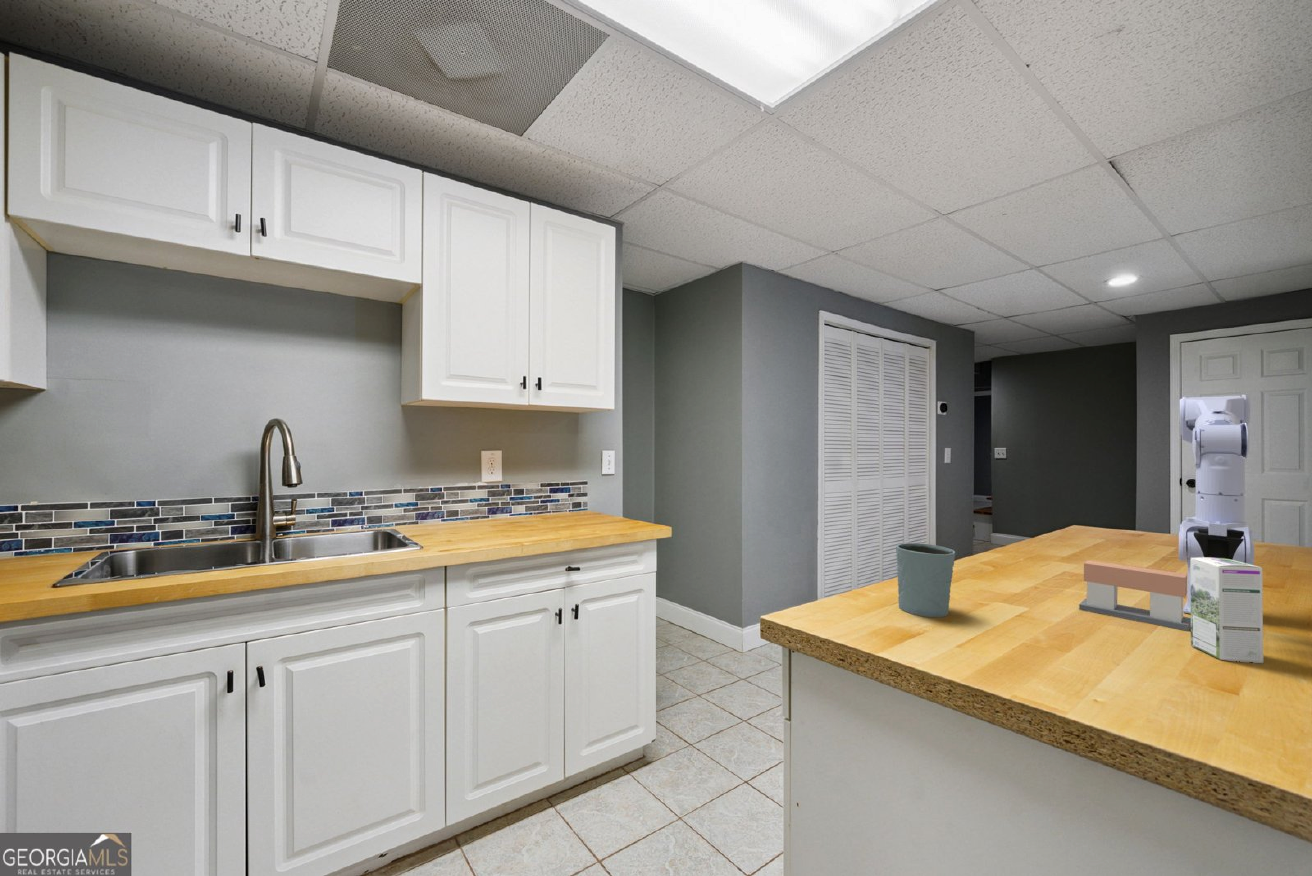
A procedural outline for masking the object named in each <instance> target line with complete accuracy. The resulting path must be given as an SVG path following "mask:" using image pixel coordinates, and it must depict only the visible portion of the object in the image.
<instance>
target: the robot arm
mask: <svg viewBox="0 0 1312 876" xmlns="http://www.w3.org/2000/svg"><path fill="white" fill-rule="evenodd" d="M1250 399H1251V398H1250V397H1249V396H1247V395H1246V394H1241V395H1224V396H1196V397H1195V396H1191V397H1187V396H1182V398H1180V399H1179V423H1178V424H1179V426H1180V428H1179V429H1180V431H1179V435H1181V440H1183V441H1186V442H1188V443H1190V444H1192V453H1193V458H1194V467H1195V468H1196V470H1195V508H1194V509H1195V513H1194V514H1195V515H1193V516H1186V517H1185V520H1183V521H1181V524H1179V532H1178V559H1179V560H1181V562H1183V563H1186V566H1187V595H1186V597H1187V598H1186V599H1187V600H1186V602H1185V604H1184V605H1183V613H1186V614H1191V587H1190V586H1191V579H1190V559H1191V558H1200V557H1213V558H1224V559H1231V560H1235V561H1239V562H1243V563H1247V564H1251V565H1255V543H1254V539H1253V534H1252V533H1253V532H1252V530H1251V529H1250V527H1249V526H1248V525H1247V522H1246V521H1245V502H1246V501H1245V493H1246V492H1245V491H1246V490H1245V488H1246V487H1245V486H1246V485H1245V484H1246V483H1245V477H1246V476H1245V473H1246V472H1245V470H1246V466H1245V465H1246V464H1245V463H1246V462H1245V461H1246V460H1245V459H1247V458H1248V455H1249V453H1250V444H1251V442H1250V441H1251V440H1250V431H1249V424H1250V419H1251V401H1250Z"/></svg>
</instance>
